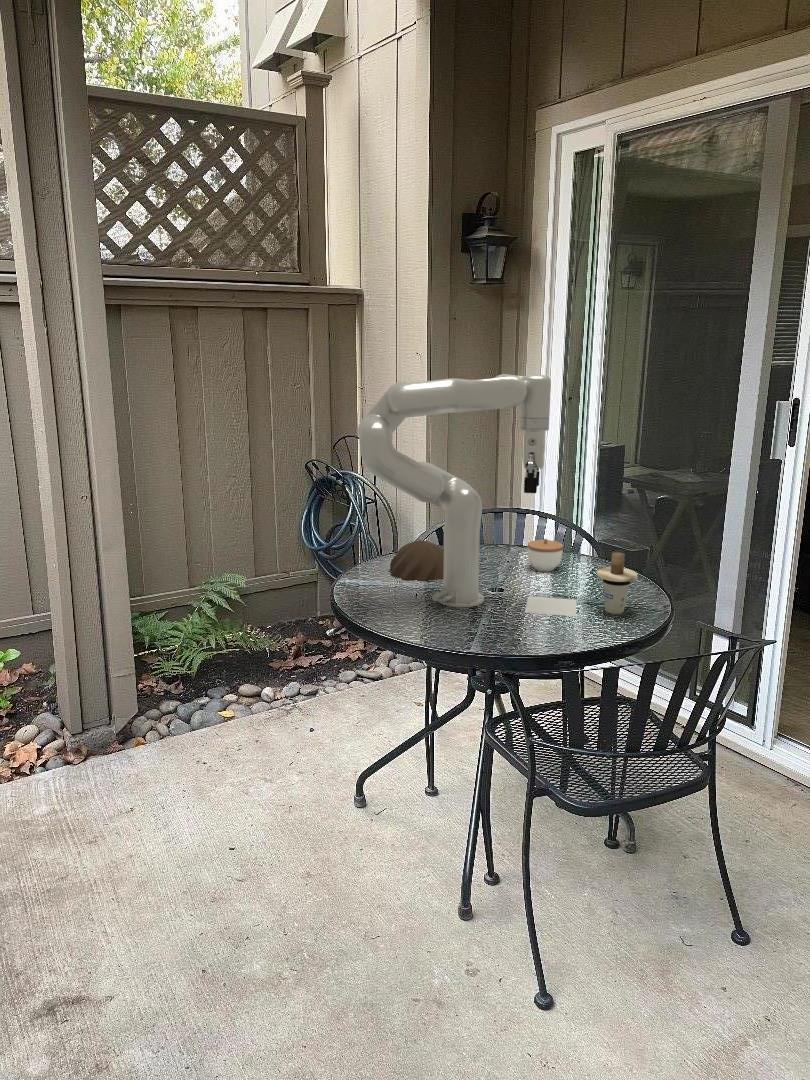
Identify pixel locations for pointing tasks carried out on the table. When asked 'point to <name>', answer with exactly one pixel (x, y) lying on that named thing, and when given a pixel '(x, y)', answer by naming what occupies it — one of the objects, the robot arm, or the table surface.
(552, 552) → the lidded jar
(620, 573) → the lid
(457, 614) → the table surface
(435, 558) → the decorative dome
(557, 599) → the mat
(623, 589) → the coffee cup
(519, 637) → the table surface
